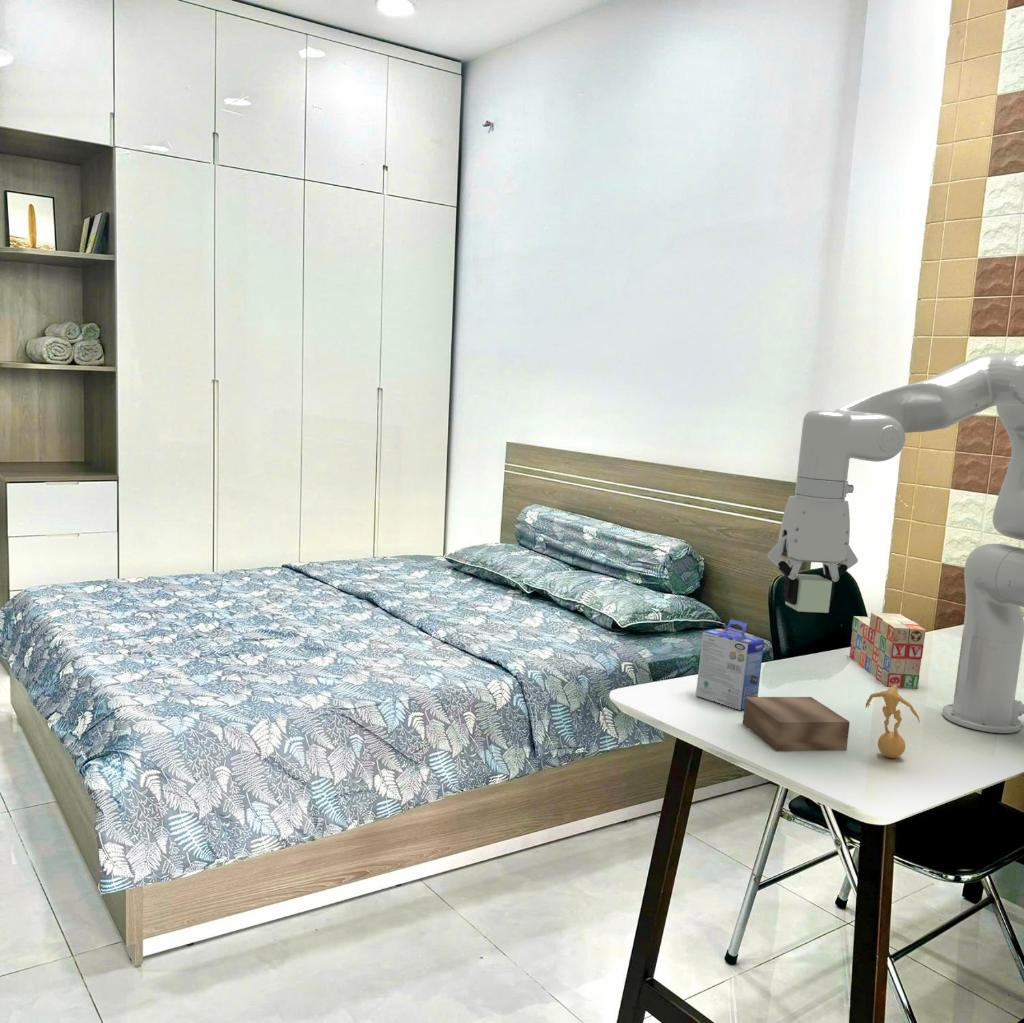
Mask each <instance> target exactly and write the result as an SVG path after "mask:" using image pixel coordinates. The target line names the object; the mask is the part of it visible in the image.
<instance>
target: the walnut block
mask: <svg viewBox="0 0 1024 1023" xmlns="http://www.w3.org/2000/svg"><path fill="white" fill-rule="evenodd" d="M743 724H744V725H745V726H744V725H743ZM850 724H851V723H850V721H849V720H847V718H844V717H843V716H841V714H839V713H837V712H836V711H834V710H832V709H831V708H829V707H828V706H827V705H824V704H823V703H821V702H820V701H819V700H817V699H815V698H813V697H812V696H758V697H745V705H744V710H743V716H742V725H743V726H744V727H746V728H747V729H748V728H749V729H750V731H751V732H752V734H754V735H756V736H757V737H758V738H759V739H761V741H763V742H764V743H765V744H767V745H768V746H769V747H770V748H772V749H773V750H774V751H775V752H804V751H805V752H814V751H815V752H819V751H820V752H821V751H822V752H823V751H826V752H827V751H828V752H829V751H830V752H831V751H832V752H833V751H847V750H848V748H847V747H848V740H849V739H848V738H849V733H850V731H849V730H850ZM749 729H748V730H749Z"/></svg>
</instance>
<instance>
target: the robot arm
mask: <svg viewBox="0 0 1024 1023" xmlns="http://www.w3.org/2000/svg"><path fill="white" fill-rule="evenodd" d="M992 407H996V412H997V415H998V417H999V419H1000V421H1001V423H1002V425H1003V426H1004V429H1005V431H1006V433H1007V435H1008V438H1009V442H1010V449H1011V452H1010V453H1011V454H1010V458H1009V459H1010V460H1009V464H1008V466H1007V470H1006V473H1005V475H1004V480H1003V482H1002V485H1001V487H1000V488H1001V489H1000V490H999V493H998V496H997V500H996V501H995V502H996V503H995V506H994V509H993V513H992V514H993V515H992V524H993V527H994V529H995V530H996V531H997V532H998V533H999V534H1001V535H1003V536H1004V537H1006V538H1007V537H1008V538H1010V539H1014V540H1019V541H1022V542H1024V352H1023V353H1021V352H1020V353H1019V352H1018V353H1017V352H1015V353H1014V352H1013V353H1011V352H1009V353H1007V352H1005V353H1001V352H1000V353H999V352H995V353H985V354H981V355H977V356H976V357H974V358H971V359H969V360H966V361H964V362H962V363H960V364H958V365H955V366H954V367H950V368H949V369H946V370H943V372H940V373H938V374H936V375H933V376H931V377H929V378H927V379H923V380H922V381H918V382H913V383H910V384H906V385H902V386H900V387H896V388H893V389H890V390H885V391H881V392H879V393H874V394H871V395H869V396H866V397H862V398H860V399H857V400H855V401H852V402H851V403H848V404H846V405H843V406H842V407H839V408H837V409H836V410H834V411H832V410H809V411H808V412H806V413H805V415H804V417H803V420H802V429H801V438H800V447H799V456H798V465H797V475H796V480H795V481H796V484H795V490H794V495H789V496H788V498H787V499H788V500H787V501H786V505H785V508H784V513H783V516H782V519H781V525H780V530H779V535H778V540H777V543H776V544H775V545H774V546H773V547H772V548H771V549H770V550H769V551H768V552H767V554H766V556H767V558H768V559H769V560H770V561H771V562H772V563H774V565H775V566H776V568H778V570H779V571H780V572H781V573H782V575H783V576H784V585H783V590H782V591H783V593H782V596H783V597H784V602H788V603H790V604H792V605H796V603H797V595H798V586H799V580H797V574H799V572H800V569H801V567H802V564H803V563H807V562H808V563H821V564H822V569H823V570H822V571H823V578H825V579H828V580H830V581H832V588H831V596H830V604H829V607H831V604H832V601H833V599H834V596H835V595H834V594H835V588H836V586H835V585H836V582H838V581H839V580H840V577H841V576H843V575H844V574H845V573H846V572H847V571H848V569H850V568H852V567H853V566H855V565H856V564H857V563H858V561H859V559H858V557H857V556H856V554H855V552H854V551H853V550H852V548H851V546H850V532H851V531H850V530H851V529H850V527H851V520H850V519H851V517H850V506H849V505H850V504H849V501H848V500H846V499H845V498H847V495H848V494H852V493H854V490H855V486H854V485H853V484H849V481H848V475H849V467H850V459H855V460H861V461H867V462H873V463H874V462H878V463H879V462H884V461H888V460H891V459H893V458H895V457H896V456H897V455H899V453H900V452H901V451H902V450H903V448H904V447H905V442H906V433H907V434H909V433H924V432H931V431H938V430H944V429H947V428H949V427H951V426H953V425H955V424H957V423H960V422H962V421H964V420H966V419H968V418H969V417H972V416H974V415H977V414H979V413H981V412H983V411H985V410H988V409H989V408H992ZM782 557H785V558H787V560H786V561H785V560H784V559H783V558H782ZM963 569H964V570H963V572H964V573H963V575H964V576H963V578H964V579H963V580H964V590H965V591H964V592H965V608H964V619H963V620H964V621H963V627H962V636H961V643H960V650H959V657H958V666H957V672H956V679H955V689H954V694H953V695H954V696H953V702H952V703H950V704H946V705H944V706H943V707H942V711H941V712H942V715H943V717H944V718H945V719H947V720H948V721H950V722H952V723H954V724H956V725H958V726H962V727H965V728H968V729H972V730H976V731H980V732H986V733H987V732H988V733H996V734H1014V733H1017V732H1019V731H1021V729H1022V721H1021V719H1019V717H1022V716H1023V715H1024V703H1023V702H1022V700H1017V699H1016V692H1017V687H1018V678H1019V673H1020V672H1019V671H1020V666H1021V665H1020V664H1021V659H1022V658H1021V657H1022V651H1023V642H1024V615H1023V612H1022V609H1021V607H1022V608H1024V548H1021V547H1018V546H1013V545H1007V544H1004V543H1003V544H1002V543H986V544H982V545H980V546H977V547H976V548H975V549H973V550H972V551H971V552H970V554H969V555H968V556H967V559H966V561H965V564H964V568H963Z"/></svg>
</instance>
